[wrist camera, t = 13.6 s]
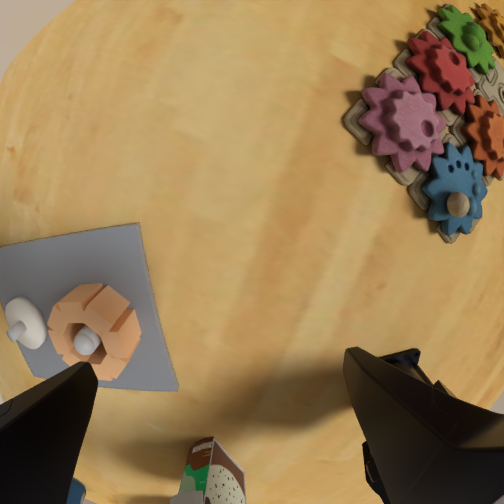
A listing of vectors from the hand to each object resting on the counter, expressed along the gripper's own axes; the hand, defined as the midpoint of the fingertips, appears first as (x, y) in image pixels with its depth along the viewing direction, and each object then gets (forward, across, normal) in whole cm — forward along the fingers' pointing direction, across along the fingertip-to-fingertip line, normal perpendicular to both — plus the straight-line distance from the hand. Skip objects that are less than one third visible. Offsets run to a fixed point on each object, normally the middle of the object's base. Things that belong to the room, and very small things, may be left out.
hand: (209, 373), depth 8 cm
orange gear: (+11, +11, +4) cm, 16 cm away
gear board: (+12, +15, +4) cm, 20 cm away
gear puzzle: (+13, -25, -15) cm, 32 cm away
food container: (+12, +6, +25) cm, 28 cm away
